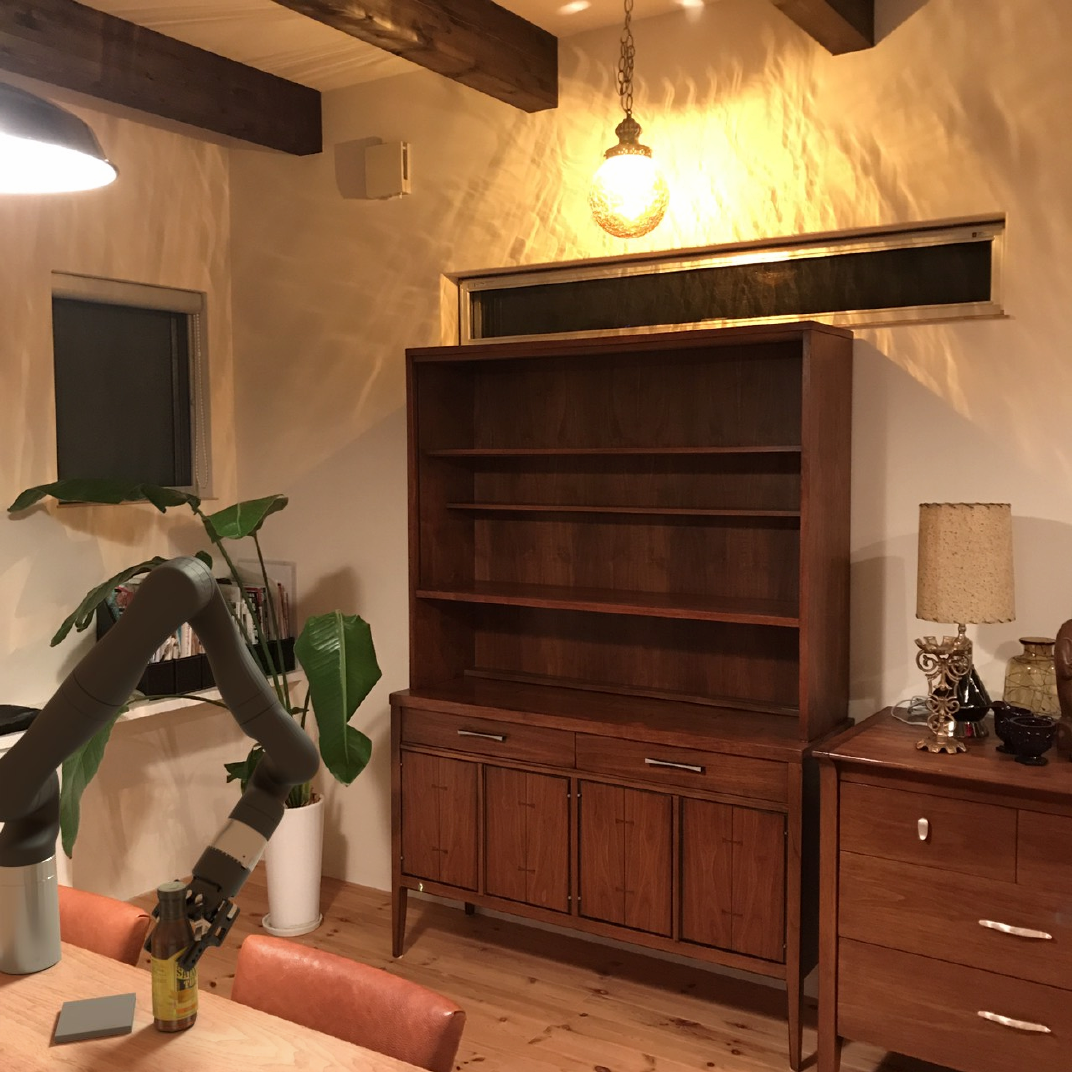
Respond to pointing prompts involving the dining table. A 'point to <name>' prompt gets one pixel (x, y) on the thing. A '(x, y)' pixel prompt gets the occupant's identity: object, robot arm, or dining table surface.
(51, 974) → the dining table surface
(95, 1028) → the rubber mat
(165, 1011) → the sauce bottle
